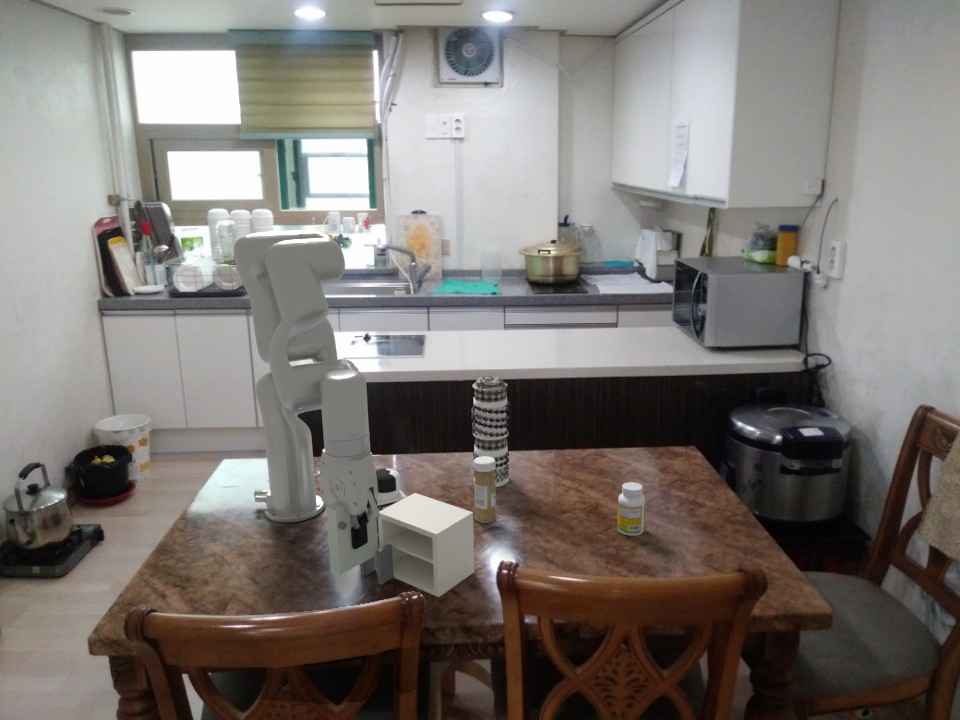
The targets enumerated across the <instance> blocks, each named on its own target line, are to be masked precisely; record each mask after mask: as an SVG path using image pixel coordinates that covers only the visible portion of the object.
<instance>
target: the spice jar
mask: <svg viewBox="0 0 960 720" xmlns="http://www.w3.org/2000/svg"><path fill="white" fill-rule="evenodd" d="M473 465H474V470H473V472H474V471H475V482H474V481H473V482H474V505H475V506H474V507H475V512H474V513H475V515H474V518H475V520H476V521H477V522H478V523H481V524H487V523H488V524H489V523H493V522H495V520H496V519H497V515H496V504H497V503H496V501H497V500H496V487H495V468H496V463H495V459H494V458H492V457H488V456H481V457H477V458H475V459H474V462H473Z"/></svg>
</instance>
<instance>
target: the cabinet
mask: <svg viewBox="0 0 960 720" xmlns="http://www.w3.org/2000/svg"><path fill="white" fill-rule="evenodd" d="M379 513H380V517H378V531H379V536H378V547H379V548H378V550H377V555H376V556H374V557H372V558H370V559H369V560H367V561H365V562H363V563H362V564H360V565H359V570H360V576H361V577H365V576H367V575H369V574H370V573H372V572H375V570H376V566H377V579H378V584H379V585H381V586H382V585H384V584H386V583H387V582H388V581H390V580H392V579H396V580H399V581H401V582H403V583H405V584H407V585H409V586H412V587H415V588H417V589H419V590H421V591H424V592H425V593H429V594H430V595H433V596H434V597H437V598H440V597H441V596H443V595H444V594H446V593H447V592H448V591H450V590H451V589H452V588H454V587H455V586H457V585H458V584H460V583H461V582H463V581H464V580H465V579H467V578H469V577H470V576H471V575H473V574H474V573H475V548H474V547H475V545H474V544H475V543H474V537H475V536H474V512H473V511H472V510H471V511H470V510H467V509H465V508H462V507H459V506H456V505H452V504H449V503H446V502H443V501H440V500H439V499H434V498H431V497H428V496H425V495H422V494H419V493H417V492H414V493H412V494H410V495H408V496H407V497H406V498H404V499H402V500H400V501H398V502H397V503H395V504H393V505H391V506H389V507H387V508H385V509H383V510H381V511H379ZM376 562H377V565H376ZM462 580H463V581H462Z"/></svg>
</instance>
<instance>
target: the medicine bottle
mask: <svg viewBox="0 0 960 720" xmlns="http://www.w3.org/2000/svg"><path fill="white" fill-rule="evenodd" d="M375 470H376V476H377V484H378V505H377V508H378V511H381V510H383V509H385V508H387V507H389V506H391V505H393V504H395V503H397V502H398V501H400V500H402V499H404V498H406V497H408V496H407V495H406V494H405V493H404V492H403V491H402V490H401V483H400V482H401V480H400V479H401V478H400V473H399V471H397V470H395V469H392V468H379V469H375ZM377 537H379V531H378V518H377Z"/></svg>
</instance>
